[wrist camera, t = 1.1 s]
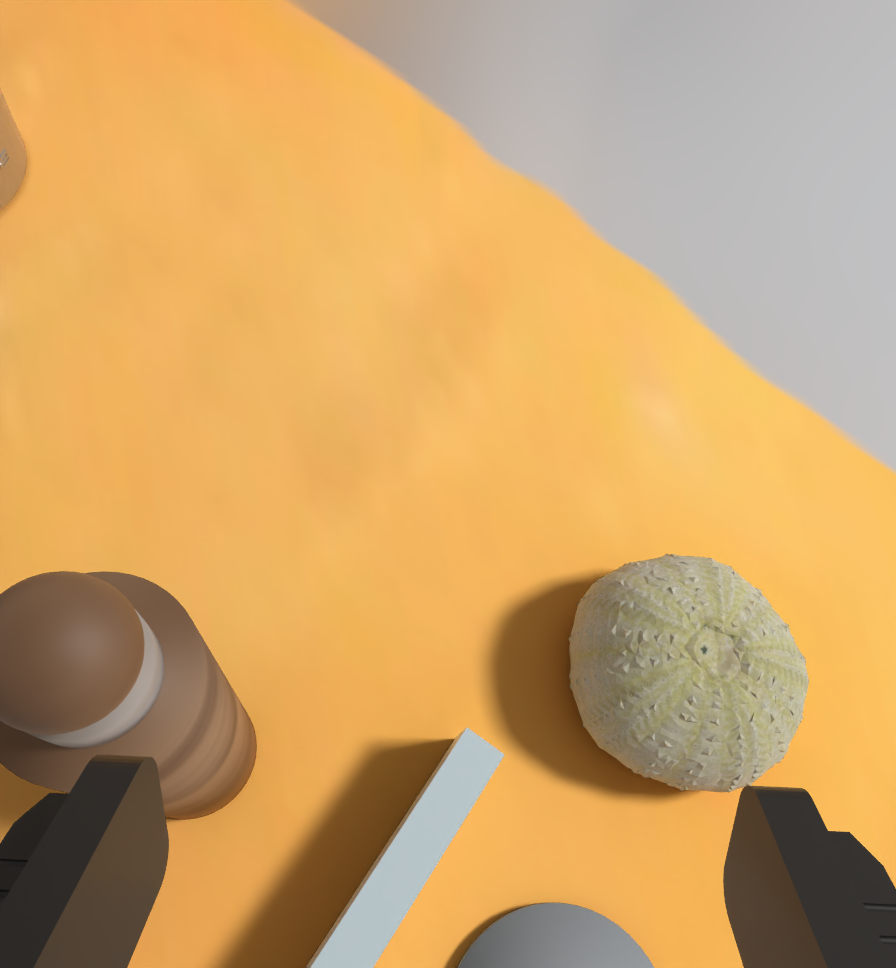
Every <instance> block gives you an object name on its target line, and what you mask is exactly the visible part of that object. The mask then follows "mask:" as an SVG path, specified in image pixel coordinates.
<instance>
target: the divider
mask: <svg viewBox="0 0 896 968" xmlns="http://www.w3.org/2000/svg"><path fill="white" fill-rule="evenodd" d="M503 757H504V754H503V753H502V752H500V751H499V750H497V749H496V748H495V747H493V746H492V745H491V744H489V743H488V742H486V741H485V740H484V739H482V738H481V737H480V736H478V735H477V734H475V733H474V732H473V731H471V730H470V729H469V728H466V729H465V730H464V731H463V732H461V733H460V734H459V735H458V736H457V737H456V738H455V740H454V741H453V743H452V744H451V746H450V747H449V749H448V750H447V752H446V753H445V755H444V756H443V758H442V759H441V761H440V763H439V764H438V766H437V767H436V769H435V770H434V772H433V773H432V775H431V776H430V778H429V779H428V781H427V782H426V784H425V786H424V787H423V789H422V790H421V792H420V793H419V795H418V796H417V798H416V799H415V801H414V802H413V804H412V805H411V807H410V808H409V810H408V812H407V813H406V815H405V816H404V818H403V819H402V821H401V822H400V824H399V825H398V827H397V828H396V830H395V831H394V833H393V834H392V836H391V838H390V839H389V841H388V842H387V844H386V845H385V847H384V848H383V850H382V851H381V853H380V854H379V856H378V857H377V859H376V860H375V862H374V864H373V865H372V867H371V868H370V870H369V871H368V873H367V874H366V876H365V877H364V879H363V880H362V882H361V883H360V885H359V887H358V888H357V890H356V891H355V893H354V894H353V896H352V897H351V899H350V900H349V902H348V903H347V905H346V906H345V908H344V909H343V911H342V913H341V914H340V916H339V917H338V919H337V920H336V922H335V923H334V925H333V926H332V928H331V929H330V931H329V932H328V934H327V935H326V937H325V939H324V940H323V942H322V943H321V945H320V946H319V948H318V949H317V951H316V952H315V954H314V955H313V957H312V958H311V960H310V962H309V963H308V965H307V966H306V968H373V967H374V965H375V964H376V962H377V960H378V959H379V957H380V956H381V954H382V952H383V951H384V949H385V947H386V946H387V944H388V943H389V941H390V939H391V938H392V936H393V935H394V933H395V931H396V930H397V928H398V926H399V925H400V923H401V922H402V920H403V918H404V917H405V915H406V913H407V912H408V910H409V909H410V907H411V905H412V904H413V902H414V901H415V899H416V897H417V896H418V894H419V892H420V891H421V889H422V888H423V886H424V884H425V883H426V881H427V880H428V878H429V876H430V875H431V873H432V871H433V870H434V868H435V867H436V865H437V863H438V862H439V860H440V858H441V857H442V855H443V854H444V852H445V850H446V849H447V847H448V846H449V844H450V842H451V841H452V839H453V837H454V836H455V834H456V833H457V831H458V829H459V828H460V826H461V825H462V823H463V821H464V820H465V818H466V816H467V815H468V813H469V812H470V810H471V808H472V807H473V805H474V803H475V802H476V800H477V799H478V797H479V795H480V794H481V792H482V791H483V789H484V787H485V786H486V784H487V782H488V781H489V779H490V778H491V776H492V774H493V773H494V771H495V770H496V768H497V766H498V765H499V763H500V761H501V760H502V758H503Z"/></svg>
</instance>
